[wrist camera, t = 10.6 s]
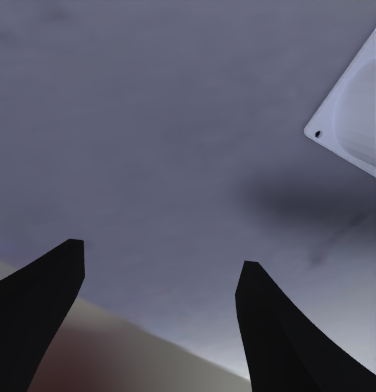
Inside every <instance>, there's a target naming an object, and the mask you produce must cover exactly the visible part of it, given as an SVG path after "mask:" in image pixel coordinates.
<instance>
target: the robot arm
mask: <svg viewBox="0 0 376 392" xmlns="http://www.w3.org/2000/svg"><path fill="white" fill-rule="evenodd" d="M317 131H320V135H319V136H318V137H315V133H316V132H317ZM304 134H305V135H306V136H307V137H308V138H310V139H312V140H313V141H315V142H317V143H319V144H320V145H322V146H324V147H325V148H327V149H329V150H330V151H332V152H334V153H335V154H337V155H339V156H340V157H342V158H344V159H345V160H347V161H349V162H350V163H352V164H354V165H355V166H357V167H359V168H360V169H362V170H364V171H366V172H367V173H369V174H371V175H372V176H374V177H376V28H375V30H374V31H373V33H372V34H371V35H370V37H369V38H368V40H367V41H366V42H365V44H364V45H363V47H362V48H361V49H360V51H359V52H358V54H357V55H356V56H355V58H354V59H353V61H352V62H351V63H350V65H349V66H348V68H347V69H346V71H345V72H344V73H343V75H342V76H341V78H340V79H339V80H338V82H337V83H336V85H335V86H334V87H333V89H332V90H331V92H330V93H329V94H328V96H327V97H326V99H325V100H324V101H323V103H322V104H321V106H320V107H319V109H318V110H317V111H316V113H315V114H314V116H313V117H312V118H311V120H310V121H309V123H308V124H307V125H306V127H305V129H304ZM84 278H85V266H84V240H76V239H68V240H67V241H65V242H63V243H62V244H60V245H59V246H57V247H55V248H54V249H52V250H51V251H49V252H48V253H46V254H45V255H43V256H41V257H40V258H38V259H37V260H35V261H33V262H32V263H30V264H28V265H27V266H25V267H23V268H22V269H20V270H18V271H16V272H15V273H13V274H11V275H9V276H8V277H6V278H4V279H2V280H0V392H27V390H28V388H29V385H30V383H31V381H32V379H33V377H34V374H35V373H36V370H37V368H38V366H39V364H40V362H41V360H42V358H43V356H44V354H45V352H46V350H47V348H48V346H49V345H50V343H51V341H52V339H53V338H54V336H55V334H56V332H57V330H58V328H59V327H60V325H61V323H62V322H63V320H64V318H65V317H66V315H67V313H68V311H69V310H70V308H71V306H72V304H73V303H74V301H75V299H76V297H77V295H78V292H79V290H80V288H81V285H82V283H83V280H84ZM235 300H236V311H237V319H238V323H239V328H240V333H241V337H242V342H243V346H244V351H245V355H246V360H247V364H248V369H249V374H250V380H251V386H252V392H376V375H375V374H374V373H372V372H371V371H370V370H368V369H367V368H366V367H364V366H363V365H362V364H360V363H359V362H358V361H356V360H355V359H354V358H353V357H351V356H350V355H349V354H348V353H346V352H345V351H344V350H343V349H341V348H340V347H339V346H338V345H336V344H335V343H334V342H333V341H332V340H331V339H329V338H328V337H327V336H326V335H325V334H324V333H323V332H322V331H321V330H320V329H318V328H317V327H316V326H315V325H314V324H313V323H312V322H311V321H310V320H309V319H308V318H307V317H306V316H305V315H304V314H303V313H302V312H301V311H300V310H299V309H298V308H297V307H296V306H295V305H294V304H293V302H292V301H291V300H290V299H289V298H288V297H287V296H286V295H285V294H284V292H283V291H282V290H281V289H280V288H279V287H278V285H277V284H276V283H275V282H274V281H273V279H272V278H271V277H270V276H269V275H268V273H267V272H266V271H265V270H264V269H263V267H262V266H261V265H260V264H259V263H258V262H253V261H244V265H243V268H242V272H241V275H240V279H239V282H238V286H237V289H236V293H235Z"/></svg>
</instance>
